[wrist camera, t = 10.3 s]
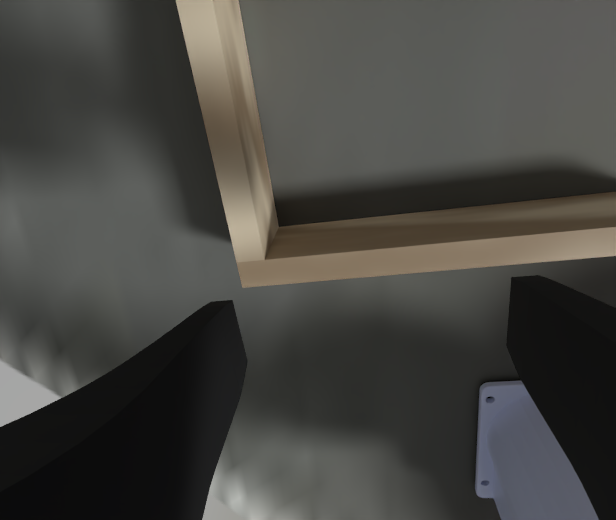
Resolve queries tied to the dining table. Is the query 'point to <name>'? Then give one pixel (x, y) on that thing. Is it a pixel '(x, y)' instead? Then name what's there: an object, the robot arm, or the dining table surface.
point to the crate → (364, 231)
